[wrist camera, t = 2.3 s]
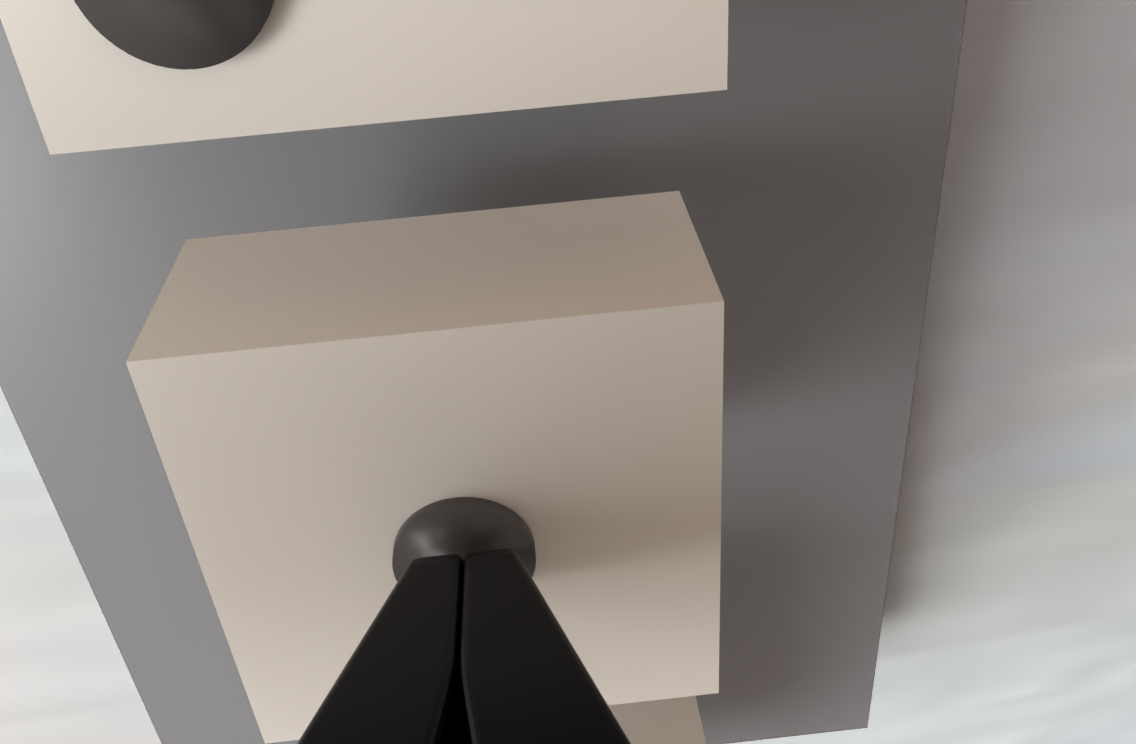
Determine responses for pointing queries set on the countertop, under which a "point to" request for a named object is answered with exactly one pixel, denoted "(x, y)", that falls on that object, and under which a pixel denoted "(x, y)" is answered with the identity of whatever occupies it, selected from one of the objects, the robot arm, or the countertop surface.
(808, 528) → the button panel
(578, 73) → the two-dot button
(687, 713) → the three-dot button
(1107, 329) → the countertop surface
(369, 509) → the one-dot button
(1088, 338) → the countertop surface
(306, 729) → the robot arm
